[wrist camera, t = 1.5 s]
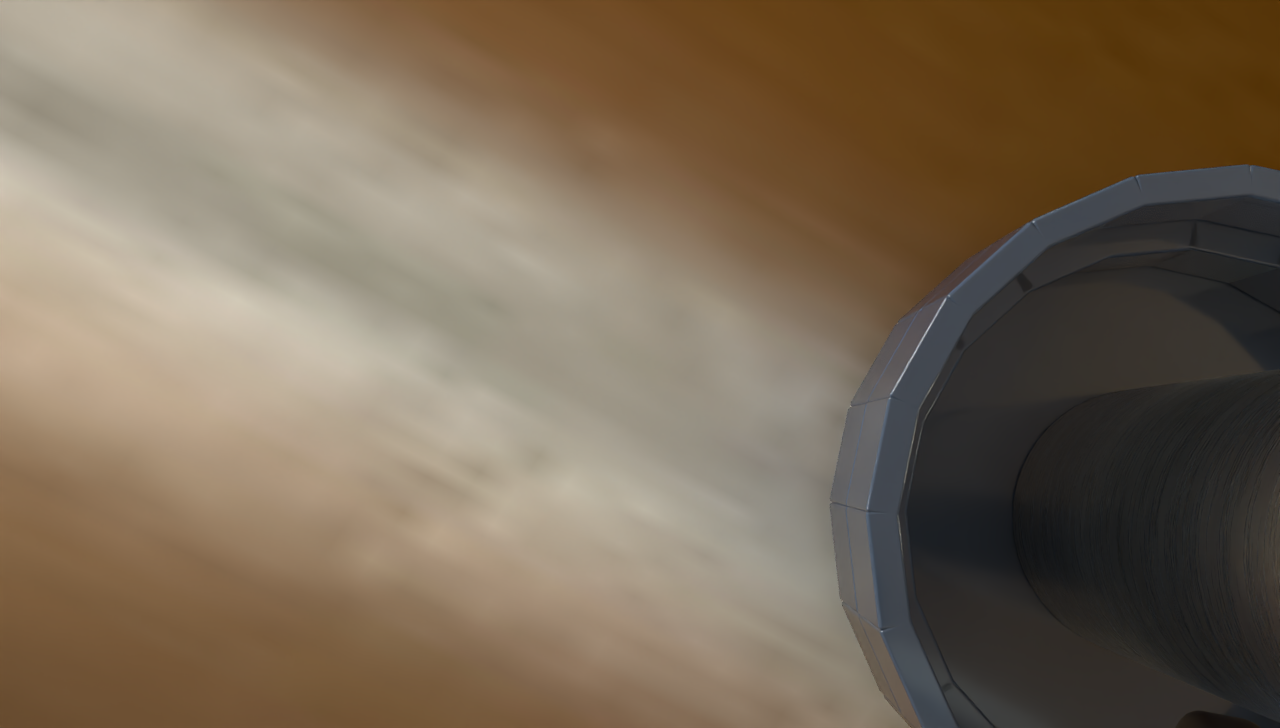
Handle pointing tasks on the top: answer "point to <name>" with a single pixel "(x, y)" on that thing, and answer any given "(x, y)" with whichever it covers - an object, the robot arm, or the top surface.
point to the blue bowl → (1012, 424)
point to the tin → (1165, 530)
